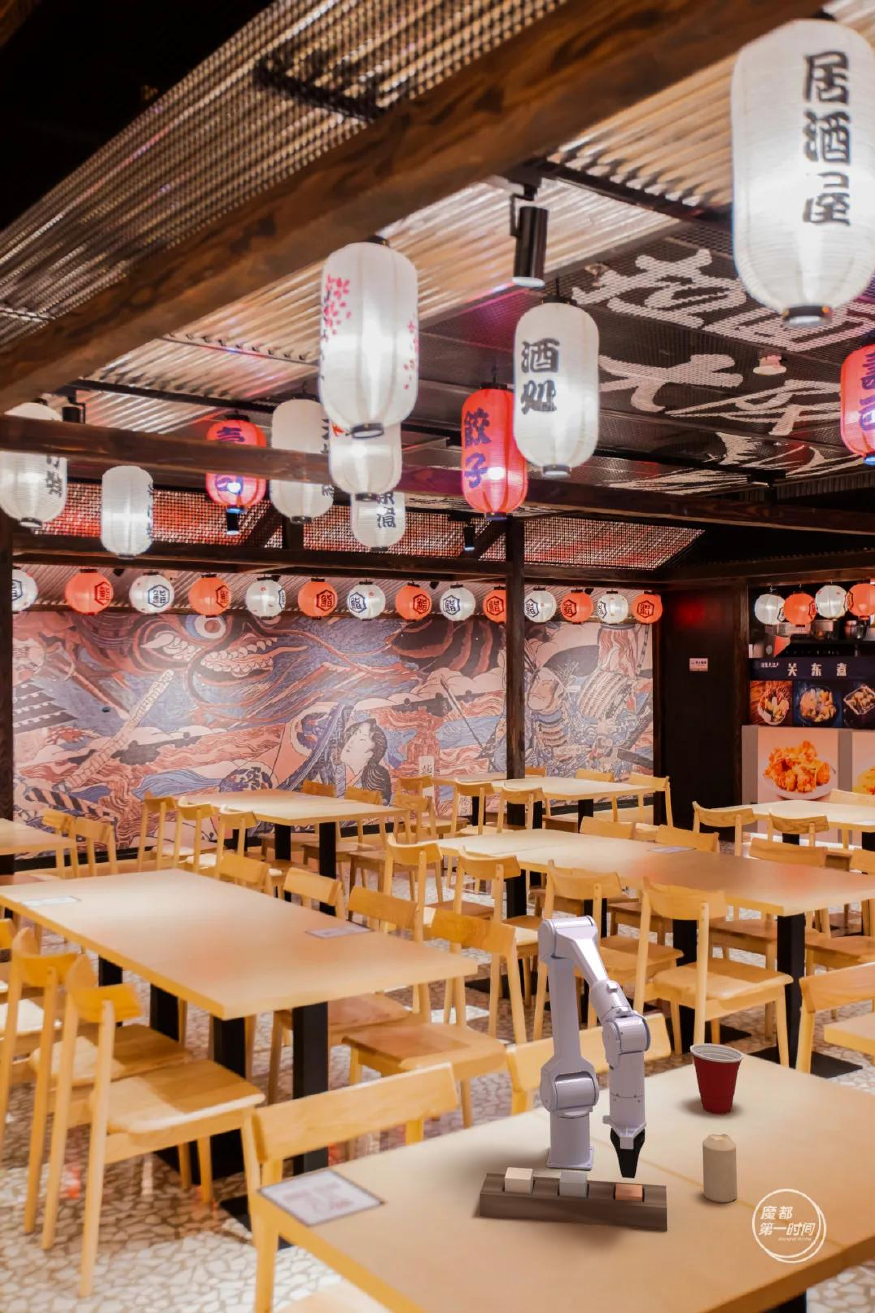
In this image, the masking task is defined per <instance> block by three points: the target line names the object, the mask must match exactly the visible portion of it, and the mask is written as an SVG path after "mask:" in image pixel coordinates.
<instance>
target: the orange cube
mask: <svg viewBox="0 0 875 1313" xmlns="http://www.w3.org/2000/svg"><path fill="white" fill-rule="evenodd" d="M615 1198H616V1200H626V1201H639V1202H642V1185H629V1184H616V1194H615Z"/></svg>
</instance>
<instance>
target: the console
mask: <svg viewBox="0 0 875 1313" xmlns="http://www.w3.org/2000/svg"><path fill="white" fill-rule="evenodd" d="M505 1175H506V1173H493V1172H486V1175H485V1176H484V1180H483V1183H482V1186H481V1188H480V1189H481V1190H480V1193H479V1216H481V1217H482V1216H483V1217H493V1218H505V1219H518V1220H531V1221H542V1222H543V1221H545V1222H557V1223H570V1224H571V1223H572V1224H582V1225H583V1224H584V1225H593V1226H607V1227H619V1228H632V1229H644V1230H646V1229H647V1230H658V1231H668V1204H667V1203H668V1202H667V1201H668V1200H667V1185H662V1184H661V1185H660V1184H649V1183H647V1184H645V1183H633V1182H621V1181H620V1182H619V1181H604V1180H593V1179H592V1180H591V1179H590V1180H589V1179H587V1198H586V1197H572V1196H560V1185H559V1182H560V1177H550V1176H548V1177H547V1176H536V1175H535V1176H534V1175H533V1193H519V1192H505ZM616 1184H629V1185H642V1202H639V1201H626V1200H616V1198H615V1194H616Z"/></svg>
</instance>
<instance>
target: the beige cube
mask: <svg viewBox="0 0 875 1313" xmlns="http://www.w3.org/2000/svg"><path fill="white" fill-rule="evenodd" d="M505 1174H506V1175H505V1192H519V1193H533V1176H534V1169H533V1168H523V1167H510V1166H508V1167H507V1169H506V1173H505Z"/></svg>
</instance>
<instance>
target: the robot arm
mask: <svg viewBox="0 0 875 1313" xmlns="http://www.w3.org/2000/svg"><path fill="white" fill-rule="evenodd" d="M598 929H599V928H598V925H597V924H596V921H595V920H594V918H593V917H592V916H590V915H584V916H575V917H563V918H562V917H561V918H551V919H549V918H544V919H542V920H541V921H540V924H539V927H538V929H537V944H538V955H539V961H540V963H543V964H545V965H546V968H547V979H548V991H549V1004H550V1018H551V1031H552V1043H553V1055H552V1056H551V1057H550V1058H549V1059H548V1060H547V1061H545V1062H546V1063H544V1064H543V1065H542V1066H541V1068H540V1082H539V1087H538V1088H539V1090H538V1091H539V1098H540V1102H541V1104H542V1106H543V1108H544V1109H545V1110H546V1111H547V1112H548V1113H549V1130H550V1131H549V1134H550V1135H549V1137H550V1143H549V1144H550V1148H549V1152H548V1157H547V1161H546V1166H547V1168H562V1169H572V1170H573V1169H576V1170H588V1171H589V1170H592V1168H593V1159H594V1150H595V1148H594V1146H593V1145H591V1136H590V1135H591V1132H590V1130H591V1128H590V1122H591V1121H590V1113H593V1111H594V1107H595V1106H597V1105H598V1104H597V1103H599V1098H600V1086H599V1082H598V1079H597V1075H596V1070H595V1066H594V1064H593V1063H592V1062H591V1061H590V1060H588V1059H587V1058H585V1057H584V1056H583V1055H582V1051H581V1050H582V1048H581V1040H580V1039H581V1038H580V1036H581V1035H580V1025H579V1024H580V1023H579V1014H578V1013H579V1012H578V1003H577V1002H578V1000H577V989H576V977H575V967H577V968H578V970H579V972H580V973H581V975H582V977H583V978H584V979H585V981H586V983H587V984H588V987H589V988H590V990H589V994H588V1000H589V1002H590V1004H591V1007H592V1008H593V1009H594V1010H593V1011H594V1013H595V1014H596V1017H597V1018H598V1021H599V1022H600V1024H601V1025H600V1026H601V1027H602V1031H601V1039H602V1043H603V1047H604V1052H605V1053H604V1054H605V1055H604V1056H605V1059H606V1061H605V1062H606V1064H608V1075H609V1076H608V1077H609V1078H608V1079H609V1080H608V1087H609V1088H608V1089H609V1093H608V1094H609V1115H607V1114H606V1115H602V1124H604V1125H609V1126H610V1127H611V1128H610V1131H609V1139H610V1141H611V1144H612V1145H613V1147H614V1149H615V1153H616V1157H617V1160H618V1168H619V1171H620V1175H621V1178H626V1179H635V1178H636V1173H637V1169H638V1163H639V1157H640V1152H641V1150H642V1148H643V1146H644V1144H645V1141H646V1127H647V1119H646V1100H645V1099H646V1098H645V1097H646V1093H645V1092H646V1091H645V1090H646V1088H645V1083H646V1082H645V1052H648V1051H649V1049H650V1048H651V1047H650V1046H651V1044H652V1043H651V1041H652V1037H651V1036H652V1035H651V1030H650V1026H649V1024H648V1021H647V1019H646V1018H645V1016H644V1015H642V1014H639V1012H638V1011H637V1010H633V1008H632V1007H631V1004H630V1002H629V1001H628V999H627V998H626V995H625V993H624V991H623V989H622V988H621V986H620V984H619V983H618V981H615V980H614V979H613V980H612V979H610V978H609V974H608V973H607V970H606V968H605V965H604V962H603V960H602V958H601V955H600V953H599V950H598V948H599V930H598Z"/></svg>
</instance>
